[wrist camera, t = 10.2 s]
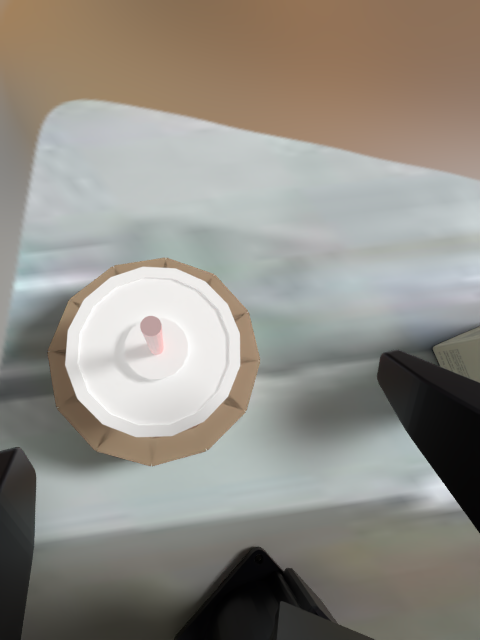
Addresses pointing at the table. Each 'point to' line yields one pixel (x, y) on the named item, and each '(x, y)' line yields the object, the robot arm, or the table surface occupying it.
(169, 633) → the table surface
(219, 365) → the beverage cup
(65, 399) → the holder ring
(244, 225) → the table surface
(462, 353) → the skincare box
